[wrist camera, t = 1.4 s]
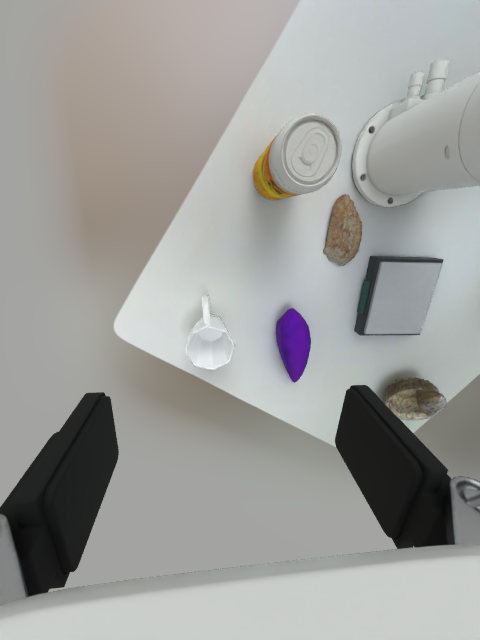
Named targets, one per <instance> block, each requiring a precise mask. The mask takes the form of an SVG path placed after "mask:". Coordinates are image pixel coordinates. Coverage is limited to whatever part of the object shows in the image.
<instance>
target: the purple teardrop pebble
mask: <svg viewBox="0 0 480 640" xmlns="http://www.w3.org/2000/svg"><path fill="white" fill-rule="evenodd" d="M276 335H277V343H278V347H279V351H280V354H281V357H282V360H283V362H284V365H285V367H286V370H287V372H288V374H289V376H290V378H291V380H292V381H293V382H297V381H298V380H299V378H300V377H301V375H302V374H303V372H304V369H305V367H306V365H307V361H308V356H309V352H310V345H311V338H310V332H309V327H308V325H307V323H306V321H305V320H304V319H303V317H302V316H301V315H300V314H299V313H298V312H297V311H296V310H295V309H293V308H292V309H289V310H287V311H286V313H285V314H284V315H283V316H282V317H281V318H280V319H279V320H278V321H277V325H276Z"/></svg>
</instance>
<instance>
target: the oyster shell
mask: <svg viewBox="0 0 480 640" xmlns="http://www.w3.org/2000/svg"><path fill="white" fill-rule="evenodd" d="M333 207H334V208H333V211H332V215H331V221H330V226H329V231H328V237H327V240H326V241H327V244H326V248H324V250H323V252H324V253H325V254H326V255H327V258H328V259H329V260H330V261H332V262H335V263H338V264H339V266H341V265H342V266H344V265H345V264H346V263H347V262H349V261H350V260H352V258H353V257H355V255H356V253H357V252H358V248H359V245H360V242H361V236H362V222H361V221H360V218H359V216H358V213H357V211H356V208H355V206H354V202H353V201H352V200H351V199H350V196H349V195H346V194H345V195H343V196H342V197H340V198H339V199H338V200H337V201H336V203H335V205H334V206H333Z"/></svg>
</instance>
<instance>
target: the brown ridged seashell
mask: <svg viewBox="0 0 480 640" xmlns="http://www.w3.org/2000/svg"><path fill="white" fill-rule="evenodd" d="M385 396H386V400H385V405H386V406H387V407H388V408H389V409H390V410H391V411H392V412H393V413H394V414H395V415H396V416H397V417H398V418H399V419H403V420H422V419H427V418H430V417H433V416H435V415H437V414H439V413H440V412H441V411H442V410H443V409H444V408H445V406H446V399H445V398H444V396H443V395H442V394H440V393H439V390H438V388H437V387H436V386H434V385H433V384H432V383H430V382H429V381H428V380H424V379H418V378H414V379H413V378H408V379H401V380H399V381H398V380H396V381H395V383H394V382H393V383H392V384H391V385H389V386H388V388H387V389H386V395H385Z"/></svg>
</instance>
